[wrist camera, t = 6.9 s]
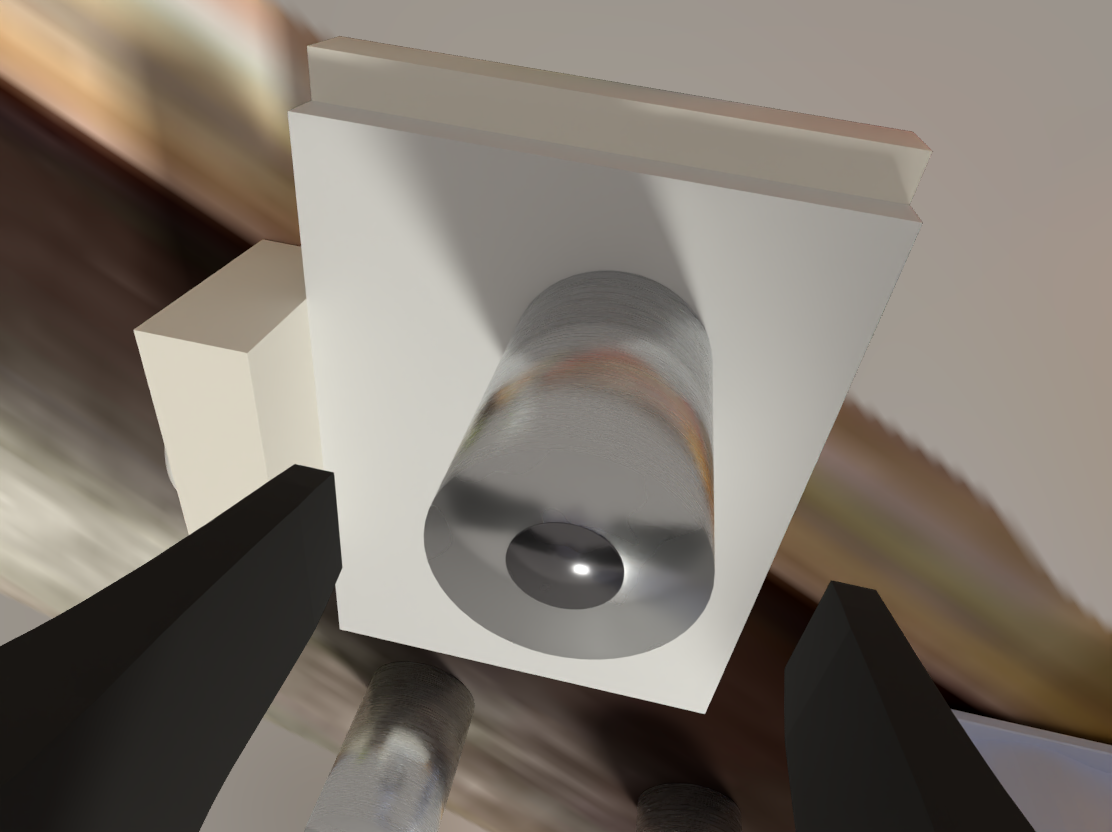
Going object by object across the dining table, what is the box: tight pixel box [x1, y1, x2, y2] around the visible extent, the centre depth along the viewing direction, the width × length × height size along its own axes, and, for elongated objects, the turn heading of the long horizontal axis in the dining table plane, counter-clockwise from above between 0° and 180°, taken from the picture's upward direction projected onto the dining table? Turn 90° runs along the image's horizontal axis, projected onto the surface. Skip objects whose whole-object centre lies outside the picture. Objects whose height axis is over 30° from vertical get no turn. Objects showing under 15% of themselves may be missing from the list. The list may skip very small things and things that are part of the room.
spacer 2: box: [424, 270, 715, 660], centre depth 13 cm, size 4×4×6 cm
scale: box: [134, 36, 933, 714], centre depth 18 cm, size 15×18×5 cm
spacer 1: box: [304, 662, 475, 832], centre depth 26 cm, size 4×4×6 cm
